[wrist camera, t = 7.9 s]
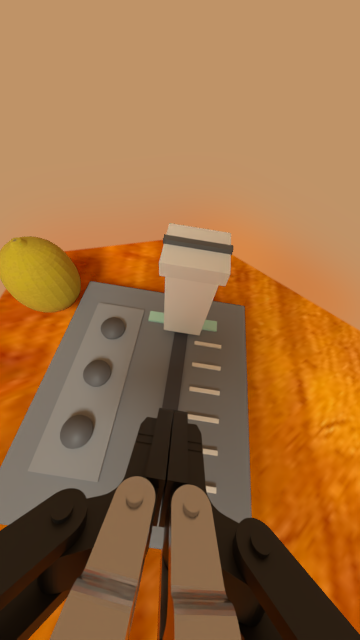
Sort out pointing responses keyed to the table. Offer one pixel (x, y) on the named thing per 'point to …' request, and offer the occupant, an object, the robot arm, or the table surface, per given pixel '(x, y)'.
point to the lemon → (39, 274)
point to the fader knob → (192, 274)
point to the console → (132, 402)
